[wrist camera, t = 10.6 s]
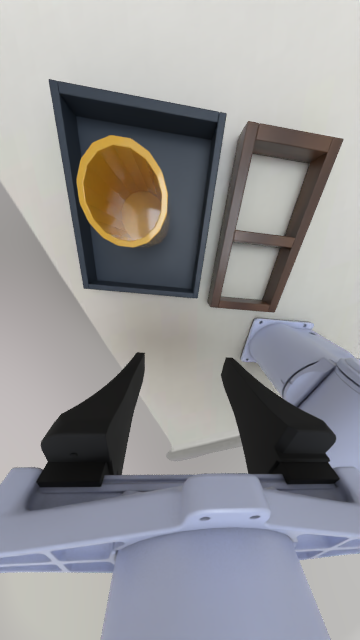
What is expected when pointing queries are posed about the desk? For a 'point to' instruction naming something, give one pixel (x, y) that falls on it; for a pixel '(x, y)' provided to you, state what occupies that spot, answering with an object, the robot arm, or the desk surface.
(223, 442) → the desk surface
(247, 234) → the frame
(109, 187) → the cup
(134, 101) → the dark blue tray
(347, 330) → the desk surface
